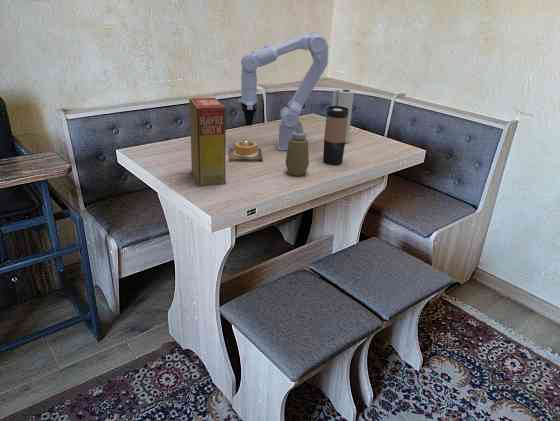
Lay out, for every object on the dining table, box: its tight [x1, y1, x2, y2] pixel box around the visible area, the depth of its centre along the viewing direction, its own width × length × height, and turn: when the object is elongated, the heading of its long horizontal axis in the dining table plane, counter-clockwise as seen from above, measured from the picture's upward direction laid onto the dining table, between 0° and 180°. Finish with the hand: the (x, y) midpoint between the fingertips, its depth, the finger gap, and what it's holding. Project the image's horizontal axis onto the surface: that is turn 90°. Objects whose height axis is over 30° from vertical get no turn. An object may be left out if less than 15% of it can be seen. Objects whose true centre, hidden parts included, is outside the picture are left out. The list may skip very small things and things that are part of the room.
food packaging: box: [188, 97, 227, 187], centre depth 146 cm, size 13×9×25 cm
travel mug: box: [322, 105, 348, 166], centre depth 165 cm, size 8×8×20 cm
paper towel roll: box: [331, 88, 355, 145], centre depth 187 cm, size 7×6×21 cm
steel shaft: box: [242, 139, 250, 147], centre depth 170 cm, size 2×2×5 cm
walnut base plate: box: [228, 147, 264, 163], centre depth 171 cm, size 12×12×1 cm
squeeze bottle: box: [285, 121, 310, 177], centre depth 154 cm, size 8×8×18 cm
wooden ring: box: [234, 140, 258, 155], centre depth 171 cm, size 8×8×3 cm
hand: (248, 123), depth 177 cm, fingers open, 4 cm apart
